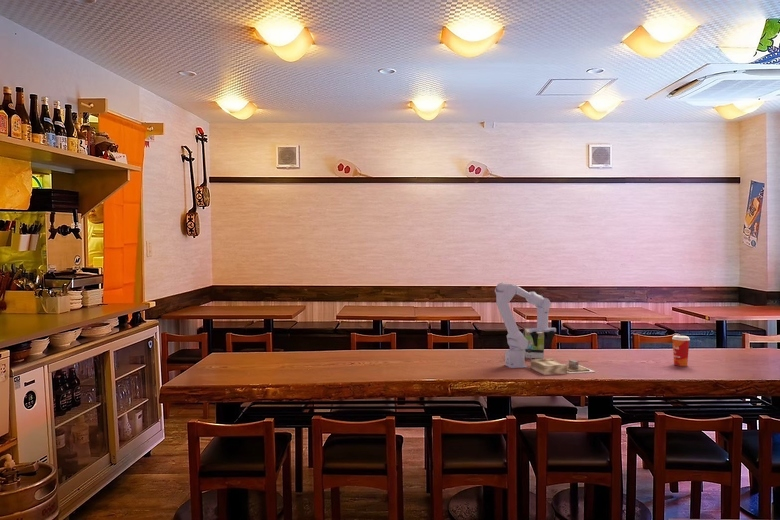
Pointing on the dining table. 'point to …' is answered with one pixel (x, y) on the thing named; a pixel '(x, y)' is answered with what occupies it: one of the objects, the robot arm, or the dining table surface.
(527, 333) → the tea box
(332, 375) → the dining table surface
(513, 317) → the robot arm
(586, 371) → the mat
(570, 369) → the lid
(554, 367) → the case
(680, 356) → the coffee cup
